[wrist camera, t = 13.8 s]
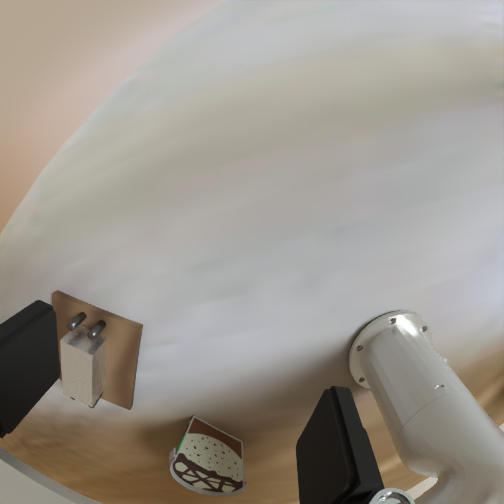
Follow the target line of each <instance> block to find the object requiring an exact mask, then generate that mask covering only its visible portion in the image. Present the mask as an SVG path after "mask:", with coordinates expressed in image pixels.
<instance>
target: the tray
mask: <svg viewBox="0 0 504 504" xmlns="http://www.w3.org/2000/svg"><path fill="white" fill-rule="evenodd" d="M53 309H54V311H55V312H56V317H57V337H58V350H59V361H60V376H59V378H60V379H62V371H61V350H60V340H61V339H62V338H63V337H64V336H65V335H66V334H67V333H68V332H69V331H70V330H69V329H68V328H67V323H68V322H70V321H71V320H72V319H73V318H74V317H75V316H76V315H78V314H79V313H80V312H84V313H85V314H86V316H87V318H86V319H85V320H84V321H83V322H82V323H81V325H83V326H86V327H88V328H90V329H92V328H93V327H94V326H95V325H96V324H97V323H98V322H99V321H100V320H104V321H105V322H106V327H105V328H104V330H103V331H102V332H101V333H102V334H104V335H107V336H109V337H108V350H107V364H106V384H105V389H104V390H103V394H102V396H101V397H100V398H102V399H104V400H106V401H109V402H111V403H114V404H116V405H118V406H121V407H123V408H126V409H128V410H130V409H131V407H132V406H133V396H134V387H135V378H136V370H137V362H138V355H139V348H140V341H141V334H142V328H143V325H142V324H139V323H136V322H134V321H131V320H128V319H126V318H123V317H120V316H118V315H115V314H113V313H110V312H107V311H105V310H102V309H100V308H97V307H95V306H93V305H90V304H88V303H85V302H83V301H81V300H78V299H76V298H74V297H71V296H69V295H67V294H65V293H62V292H60V291H58V290H57V291H56V292H54V293H53Z"/></svg>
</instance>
